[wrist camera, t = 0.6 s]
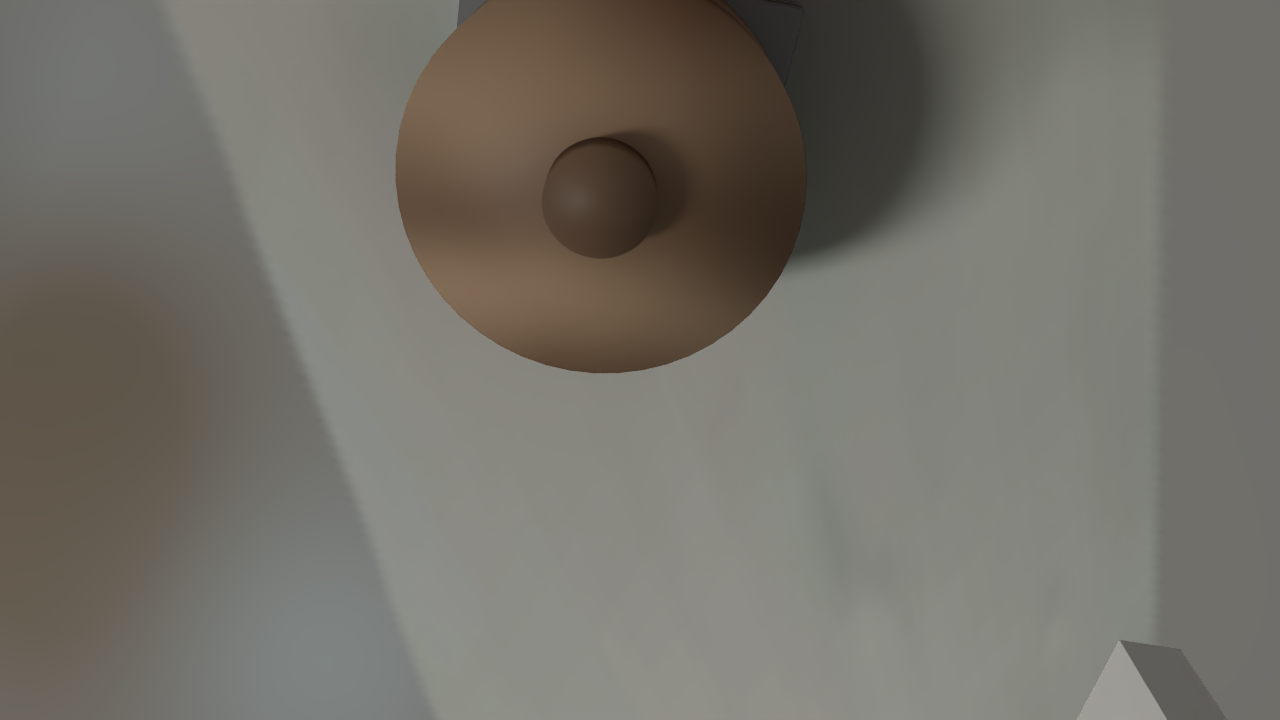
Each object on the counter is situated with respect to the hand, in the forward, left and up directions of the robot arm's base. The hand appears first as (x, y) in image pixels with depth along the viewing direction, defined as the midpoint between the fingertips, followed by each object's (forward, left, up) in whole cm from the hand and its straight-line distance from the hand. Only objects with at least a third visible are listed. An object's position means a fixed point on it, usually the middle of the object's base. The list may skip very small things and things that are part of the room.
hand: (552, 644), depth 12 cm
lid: (0, 0, -22) cm, 22 cm away
